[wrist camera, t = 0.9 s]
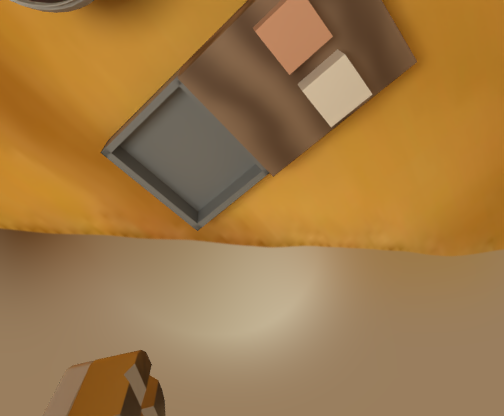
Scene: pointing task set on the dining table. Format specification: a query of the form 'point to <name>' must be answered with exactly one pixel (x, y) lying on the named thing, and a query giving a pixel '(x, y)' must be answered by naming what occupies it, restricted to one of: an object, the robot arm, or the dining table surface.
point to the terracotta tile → (292, 32)
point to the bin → (184, 155)
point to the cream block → (335, 88)
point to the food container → (54, 4)
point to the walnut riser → (284, 85)
